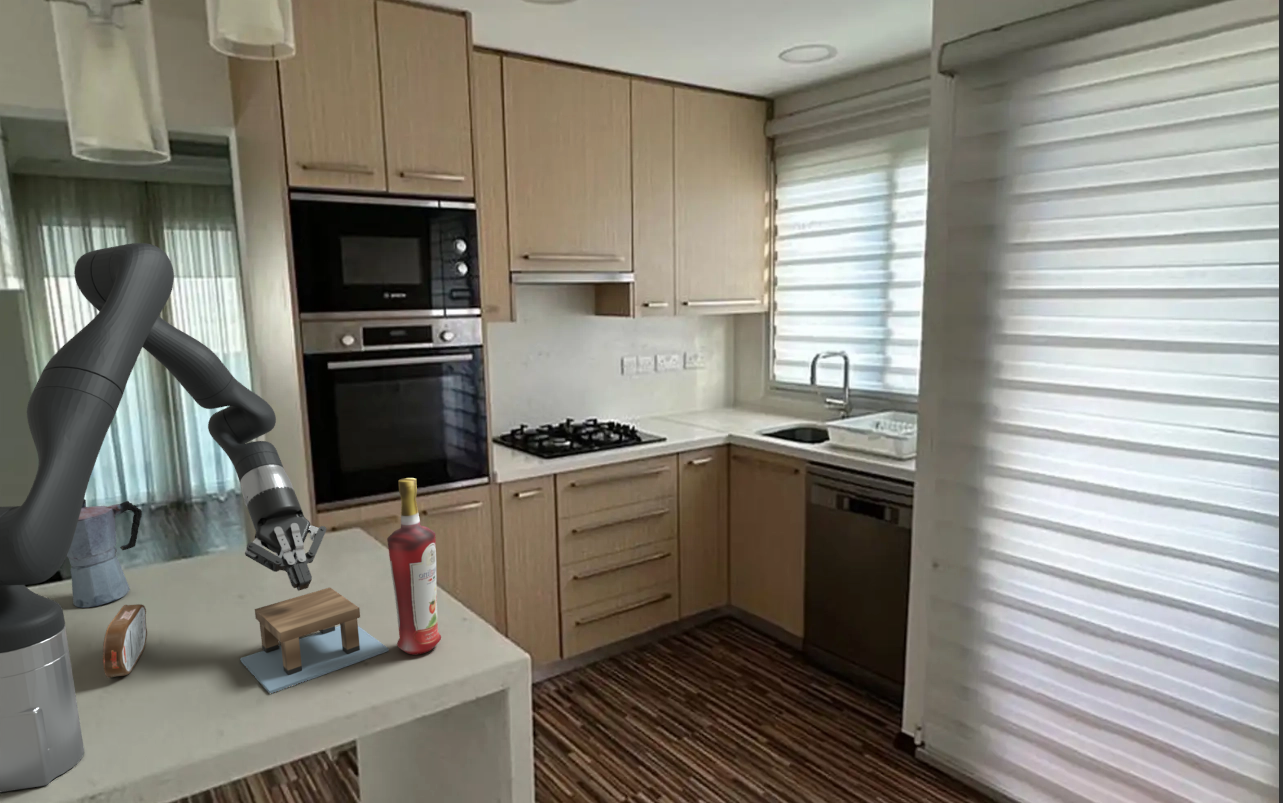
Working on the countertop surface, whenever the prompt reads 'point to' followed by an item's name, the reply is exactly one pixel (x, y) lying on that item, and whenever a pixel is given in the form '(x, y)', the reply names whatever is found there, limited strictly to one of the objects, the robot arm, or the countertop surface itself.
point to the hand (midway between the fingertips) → (304, 587)
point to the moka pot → (99, 555)
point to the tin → (124, 640)
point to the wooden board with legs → (307, 624)
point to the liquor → (414, 576)
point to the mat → (311, 659)
